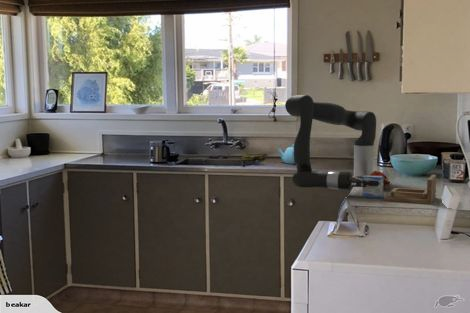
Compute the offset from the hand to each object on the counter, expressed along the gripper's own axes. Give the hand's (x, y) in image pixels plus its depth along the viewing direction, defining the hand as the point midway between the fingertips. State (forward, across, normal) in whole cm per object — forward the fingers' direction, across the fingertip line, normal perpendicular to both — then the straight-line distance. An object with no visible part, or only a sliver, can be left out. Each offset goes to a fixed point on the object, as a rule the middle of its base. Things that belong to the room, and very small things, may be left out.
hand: (379, 182), depth 250 cm
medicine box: (-3, 0, +6) cm, 7 cm away
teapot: (-69, +88, +6) cm, 112 cm away
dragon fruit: (-5, +20, +6) cm, 21 cm away
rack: (+12, 0, +6) cm, 14 cm away
